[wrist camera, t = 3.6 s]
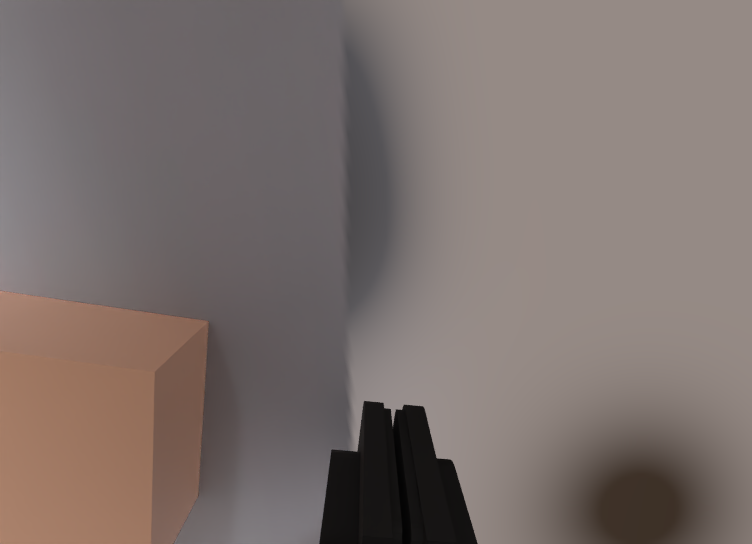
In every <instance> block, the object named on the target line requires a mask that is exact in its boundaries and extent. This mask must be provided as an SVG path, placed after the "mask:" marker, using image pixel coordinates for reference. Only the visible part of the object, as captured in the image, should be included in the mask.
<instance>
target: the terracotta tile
mask: <svg viewBox="0 0 752 544" xmlns="http://www.w3.org/2000/svg"><path fill="white" fill-rule="evenodd" d="M208 327H209V321H205V320H198V319H191V318H184V317H177V316H170V315H163V314H157V313H150V312H143V311H136V310H129V309H122V308H115V307H109V306H102V305H95V304H88V303H81V302H74V301H67V300H60V299H54V298H47V297H40V296H33V295H26V294H19V293H12V292H5V291H0V544H174V542H175V540H176V538H177V536H178V534H179V532H180V530H181V528H182V526H183V524H184V523H185V521H186V519H187V517H188V515H189V513H190V511H191V509H192V507H193V505H194V503H195V502H196V500H197V498H198V494H199V477H200V460H201V444H202V427H203V410H204V394H205V377H206V361H207V344H208Z"/></svg>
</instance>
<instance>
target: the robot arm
mask: <svg viewBox="0 0 752 544" xmlns="http://www.w3.org/2000/svg"><path fill="white" fill-rule="evenodd" d="M319 544H477V540H476V537H475V534H474V530H473V527H472V523H471V520H470V517H469V513H468V510H467V507H466V503H465V500H464V496H463V493H462V490H461V487H460V483H459V480H458V476H457V473H456V470H455V466H454V464H453V462H452V461H451V460H448V459H437V458H436V454H435V451H434V446H433V442H432V438H431V434H430V429H429V426H428V421H427V417H426V413H425V409H424V407H423V406H412V405H404V406H403V409H402V410H396V412H395V418H394V425H393V427H392V416H391V409H385V408H384V404H383V403H380V402H369V401H364V405H363V413H362V420H361V429H360V436H359V445H358V452H354V451H342V450H332V451H331V459H330V466H329V474H328V482H327V489H326V497H325V505H324V512H323V520H322V528H321V535H320V543H319Z"/></svg>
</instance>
